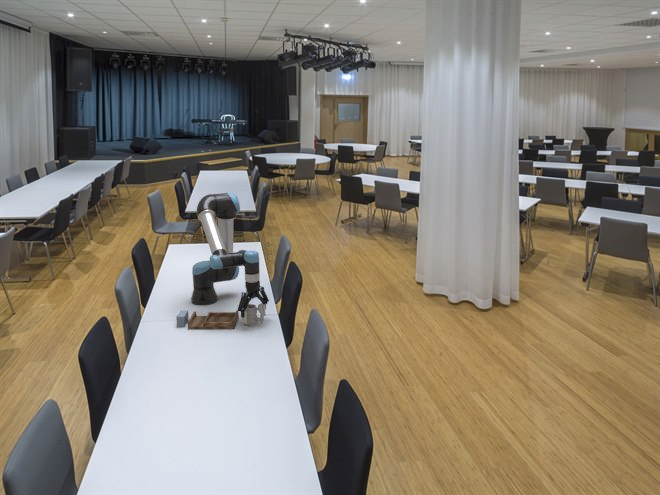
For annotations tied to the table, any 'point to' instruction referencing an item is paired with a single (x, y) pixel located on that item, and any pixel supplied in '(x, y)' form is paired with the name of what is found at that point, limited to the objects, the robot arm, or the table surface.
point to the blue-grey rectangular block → (182, 318)
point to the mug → (253, 315)
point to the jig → (214, 320)
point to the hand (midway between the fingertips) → (254, 319)
